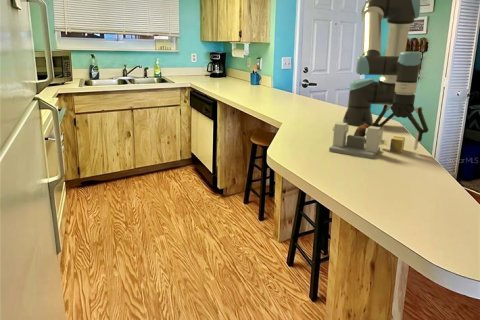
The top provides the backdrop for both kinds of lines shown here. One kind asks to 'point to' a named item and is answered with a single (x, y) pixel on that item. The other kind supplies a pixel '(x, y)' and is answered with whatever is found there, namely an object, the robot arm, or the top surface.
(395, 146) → the box
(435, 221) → the top surface
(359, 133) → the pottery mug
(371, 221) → the top surface
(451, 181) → the top surface
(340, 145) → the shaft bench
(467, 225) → the top surface
